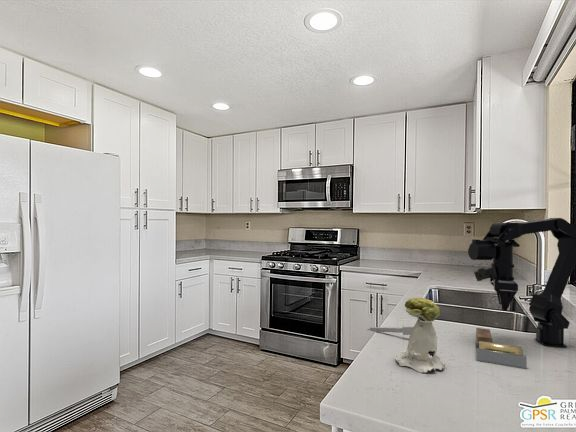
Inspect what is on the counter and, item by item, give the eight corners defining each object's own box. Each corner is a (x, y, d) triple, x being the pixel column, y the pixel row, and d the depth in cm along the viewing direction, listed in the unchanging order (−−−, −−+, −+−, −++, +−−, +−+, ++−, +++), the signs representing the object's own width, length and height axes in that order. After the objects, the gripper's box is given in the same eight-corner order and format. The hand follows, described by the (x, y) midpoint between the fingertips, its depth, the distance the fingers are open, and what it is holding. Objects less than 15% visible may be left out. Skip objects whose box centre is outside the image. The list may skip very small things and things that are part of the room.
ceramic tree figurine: (407, 351, 106) (407, 291, 106) (451, 363, 97) (451, 298, 97) (389, 362, 97) (389, 297, 97) (435, 377, 88) (435, 305, 89)
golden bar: (520, 355, 99) (520, 345, 99) (522, 360, 96) (522, 349, 96) (479, 349, 104) (479, 339, 104) (479, 353, 101) (479, 343, 101)
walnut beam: (489, 341, 116) (489, 329, 116) (492, 351, 107) (492, 338, 107) (476, 339, 117) (476, 327, 117) (477, 349, 108) (477, 336, 108)
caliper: (424, 343, 114) (424, 324, 114) (423, 344, 113) (423, 325, 113) (368, 330, 127) (368, 313, 127) (366, 330, 126) (367, 313, 126)
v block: (522, 359, 100) (522, 348, 101) (526, 368, 94) (526, 357, 94) (475, 352, 106) (475, 341, 106) (476, 360, 100) (476, 349, 100)
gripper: (473, 256, 126) (473, 299, 126) (476, 261, 109) (476, 310, 109) (509, 258, 121) (509, 302, 121) (518, 263, 104) (518, 315, 104)
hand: (502, 307), depth 114 cm, fingers open, 9 cm apart
